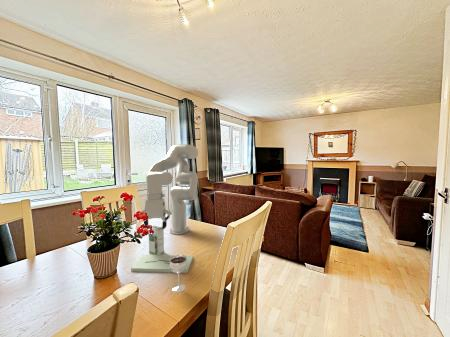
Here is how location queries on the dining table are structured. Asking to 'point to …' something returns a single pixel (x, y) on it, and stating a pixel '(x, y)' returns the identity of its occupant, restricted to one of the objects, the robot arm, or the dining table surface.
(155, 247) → the syrup box
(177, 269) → the wineglass
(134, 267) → the board
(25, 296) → the dining table surface
